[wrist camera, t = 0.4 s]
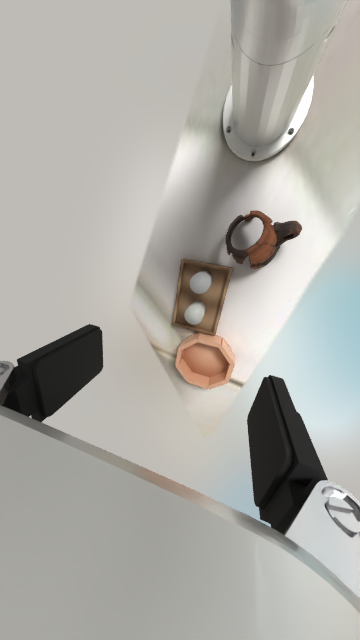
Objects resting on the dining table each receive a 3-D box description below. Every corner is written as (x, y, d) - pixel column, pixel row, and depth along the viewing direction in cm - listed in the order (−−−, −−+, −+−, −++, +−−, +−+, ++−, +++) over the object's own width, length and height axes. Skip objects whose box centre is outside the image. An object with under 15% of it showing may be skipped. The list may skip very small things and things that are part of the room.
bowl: (185, 326, 46) (180, 333, 42) (239, 340, 43) (239, 349, 39) (177, 368, 52) (173, 377, 48) (225, 383, 49) (224, 394, 45)
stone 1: (196, 268, 39) (191, 271, 34) (214, 272, 38) (211, 275, 34) (193, 286, 41) (188, 291, 36) (210, 289, 40) (207, 295, 35)
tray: (183, 258, 40) (181, 259, 38) (232, 267, 38) (232, 268, 36) (174, 321, 46) (172, 324, 45) (215, 332, 44) (214, 335, 43)
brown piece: (240, 277, 38) (225, 267, 32) (233, 237, 40) (217, 220, 33) (307, 256, 31) (305, 237, 25) (296, 208, 32) (291, 178, 26)
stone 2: (191, 298, 42) (185, 305, 37) (207, 302, 41) (204, 309, 36) (188, 313, 44) (183, 322, 39) (204, 317, 43) (200, 326, 38)
